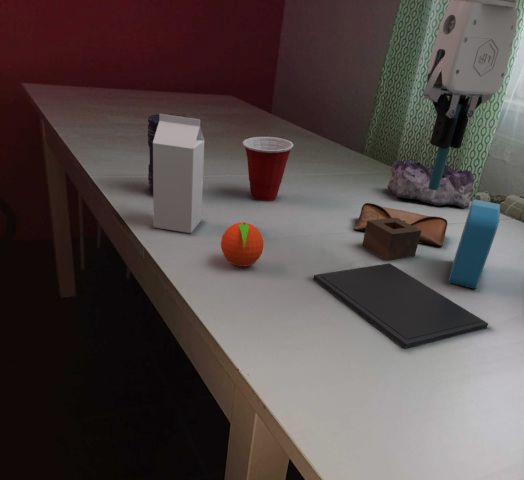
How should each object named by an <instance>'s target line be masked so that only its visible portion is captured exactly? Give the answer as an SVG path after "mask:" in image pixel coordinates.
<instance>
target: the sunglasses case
mask: <svg viewBox="0 0 524 480" xmlns="http://www.w3.org/2000/svg"><path fill="white" fill-rule="evenodd" d="M387 218H398V219H400V220H402V221H404V222H406V223H408V224H410V225H412V226H414V227H416V228H418V229H419V230H421V235H420V238H419V242H418V244H422V245H423V244H424V245H430V246H431V245H432V246H439V247H444V242H445V239H446V237H445V236H446V232H447V228H448V220H447V219H446V218H444V217H442V216H441V217H440V216H436V215H435V216H434V215H433V216H432V215H424V214H422V213H421V214H420V213H416V212H412V211H407V210H401V209H397V208H391V207H385V206H382V205H378V204H375V203H370V202H365V203H364V204H363V205H362V206H361V209H360V214H359V217H358V220H357V221H356V224H355V226H354V230H356V231H364V232H365V230H366V225H367V221H368V220H377V219H387Z"/></svg>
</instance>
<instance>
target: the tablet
mask: <svg viewBox="0 0 524 480" xmlns="http://www.w3.org/2000/svg"><path fill="white" fill-rule="evenodd" d="M313 280H314V281H315V282H317V284H319V285H321V286H322V287H323V288H324V289H326V290H327V291H328V292H329V293H331V294H332V295H333V296H335V297H336V298H337V299H339V300H340V301H342V302H343V303H344V304H346V305H347V306H348V307H350V308H351V309H352V310H353V311H355V312H356V313H357V314H358V315H360V316H361V317H363V318H364V319H365V320H367V321H368V322H369V323H371V324H372V325H373V326H374V327H375V328H377V329H378V330H380V331H381V332H383V333H384V334H385V335H386V336H388V337H389V338H391V339H392V341H394V342H395V343H397V344H398V345H400V346H401V347H402V348H404V349H408V348H412V347H413V348H414V347H417V346H420V345H424V344H425V345H426V344H429V343H433V342H437V341H440V340H445V339H448V338H454V337H457V336H460V335H464V334H468V333H469V334H470V333H472V332H476V331H480V330H484V329H487V328H488V326H489V323H488V321H485V320H484V319H482V318H480V317H479V316H477V315H475V313H472V312H470V311H469V310H467V309H465V308H464V307H462V306H460V305H459V304H457V303H455V302H454V301H453V300H451V299H449V298H448V297H446V296H444V295H443V294H441V293H440V292H438V291H437V290H434V289H433V288H431V287H429V286H427V285H426V284H425V283H423V282H421V281H420V280H418V279H416V278H415V277H413V276H411V275H409V274H408V273H407V272H405V271H404V270H402V269H400V268H398V267H397V266H395V265H394V264H392V263H389V262H388V263H382V264H376V265H369V266H363V267H356V268H350V269H349V268H348V269H343V270H336V271H329V272H323V273H316V274H313Z"/></svg>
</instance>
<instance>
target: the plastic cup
mask: <svg viewBox="0 0 524 480" xmlns="http://www.w3.org/2000/svg"><path fill="white" fill-rule="evenodd" d="M242 145H243V147H244V148H245V153H246V158H247V159H246V162H247V171H248V172H247V173H248V181H249V193H250V196H251V198H252V199H254V200H257V201H262V202H263V201H264V202H271V201H272V202H273V201H275V200H276V199H277V197H278V195H279V190H280V188H281V184H282V181H283V177H284V174H285V171H286V167H287V163H288V160H289V156H290V154H291V151H292V149H293V147H294V144H293V142H292V141H290V140H288V139H285V138H281V137H274V136H254V137H250V138H246V139H244V140H243V141H242Z"/></svg>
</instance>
